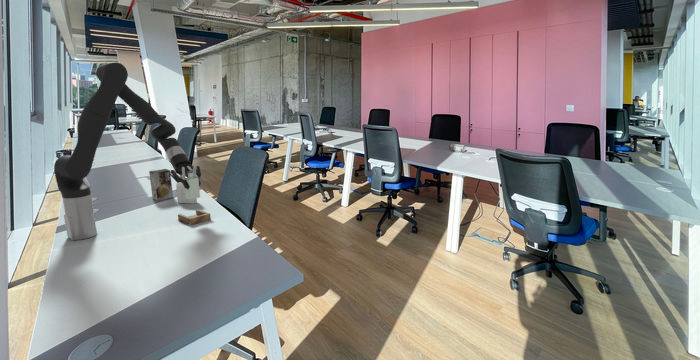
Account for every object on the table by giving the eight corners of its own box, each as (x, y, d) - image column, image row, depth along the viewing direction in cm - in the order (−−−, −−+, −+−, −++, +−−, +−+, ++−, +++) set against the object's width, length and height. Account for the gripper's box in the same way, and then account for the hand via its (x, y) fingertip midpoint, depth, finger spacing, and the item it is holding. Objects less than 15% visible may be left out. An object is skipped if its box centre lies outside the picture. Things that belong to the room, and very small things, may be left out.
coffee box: (168, 195, 211) (165, 168, 208) (173, 197, 208) (170, 169, 204) (152, 198, 205) (148, 170, 201) (157, 200, 201) (153, 172, 197)
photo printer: (198, 202, 198) (196, 180, 196) (194, 204, 194) (192, 181, 192) (181, 201, 200) (179, 179, 197) (176, 203, 196) (174, 181, 193)
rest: (190, 225, 162) (189, 219, 161) (178, 220, 168) (177, 214, 167) (210, 219, 169) (210, 213, 169) (198, 215, 176) (198, 209, 175)
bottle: (190, 199, 163) (187, 172, 160) (185, 197, 166) (182, 171, 163) (200, 197, 166) (197, 170, 164) (194, 195, 169) (192, 169, 166)
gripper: (164, 154, 161) (180, 185, 156) (195, 151, 172) (211, 179, 167) (160, 165, 165) (176, 195, 160) (190, 160, 176) (205, 188, 171)
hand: (193, 186), depth 164 cm, fingers closed on bottle, 4 cm apart
